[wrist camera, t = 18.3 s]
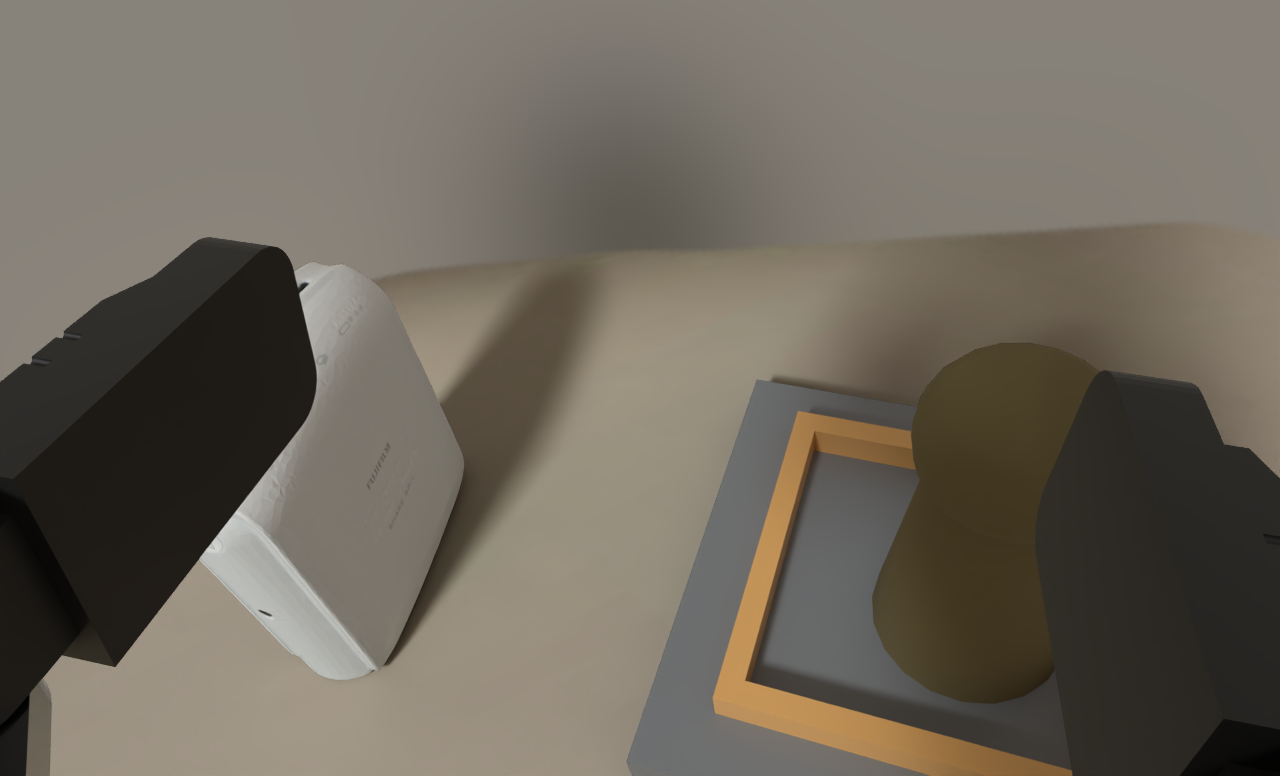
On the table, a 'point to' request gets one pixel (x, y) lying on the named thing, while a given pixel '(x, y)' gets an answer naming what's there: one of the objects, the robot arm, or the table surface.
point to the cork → (979, 524)
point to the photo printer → (346, 490)
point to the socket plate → (817, 620)
